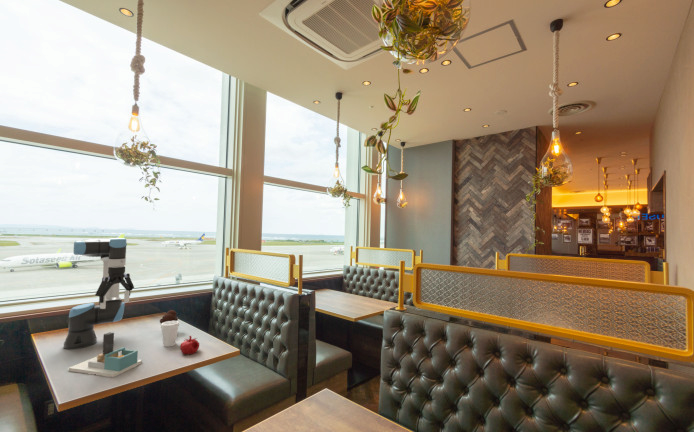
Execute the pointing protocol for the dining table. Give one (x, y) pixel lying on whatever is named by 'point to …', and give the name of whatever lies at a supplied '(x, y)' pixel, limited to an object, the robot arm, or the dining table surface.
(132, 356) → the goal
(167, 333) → the foam cup
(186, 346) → the pomegranate
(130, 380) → the dining table surface
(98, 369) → the board
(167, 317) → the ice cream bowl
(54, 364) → the dining table surface
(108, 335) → the block
